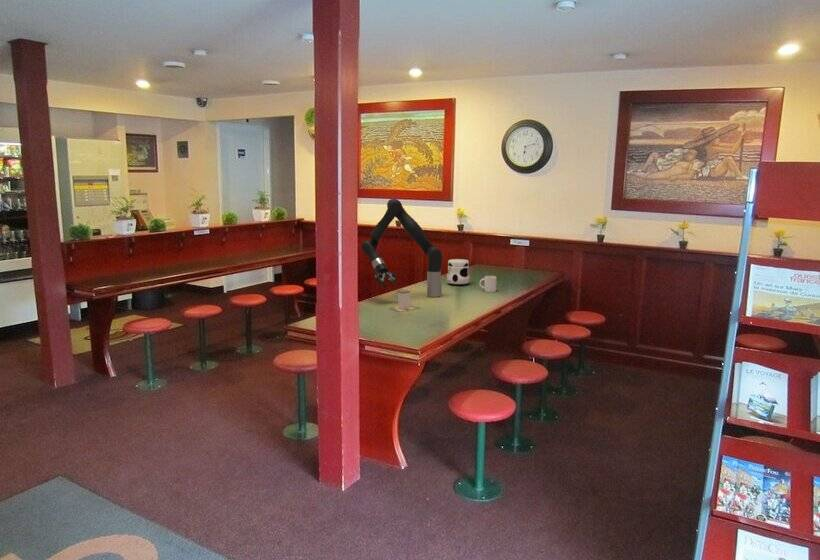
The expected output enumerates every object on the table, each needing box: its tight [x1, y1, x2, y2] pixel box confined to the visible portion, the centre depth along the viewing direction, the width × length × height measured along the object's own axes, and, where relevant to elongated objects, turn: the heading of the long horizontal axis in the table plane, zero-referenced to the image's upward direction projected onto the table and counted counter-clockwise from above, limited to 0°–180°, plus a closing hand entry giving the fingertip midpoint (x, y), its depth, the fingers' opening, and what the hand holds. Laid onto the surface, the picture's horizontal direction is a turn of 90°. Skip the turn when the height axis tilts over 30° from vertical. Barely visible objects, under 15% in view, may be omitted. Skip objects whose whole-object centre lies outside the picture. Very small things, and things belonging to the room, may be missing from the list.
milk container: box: [446, 258, 471, 286], centre depth 430 cm, size 17×17×18 cm
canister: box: [397, 289, 411, 309], centre depth 356 cm, size 5×5×11 cm
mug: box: [478, 275, 497, 293], centre depth 407 cm, size 12×8×10 cm
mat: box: [387, 304, 420, 313], centre depth 357 cm, size 16×12×1 cm
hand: (390, 286), depth 365 cm, fingers open, 8 cm apart
